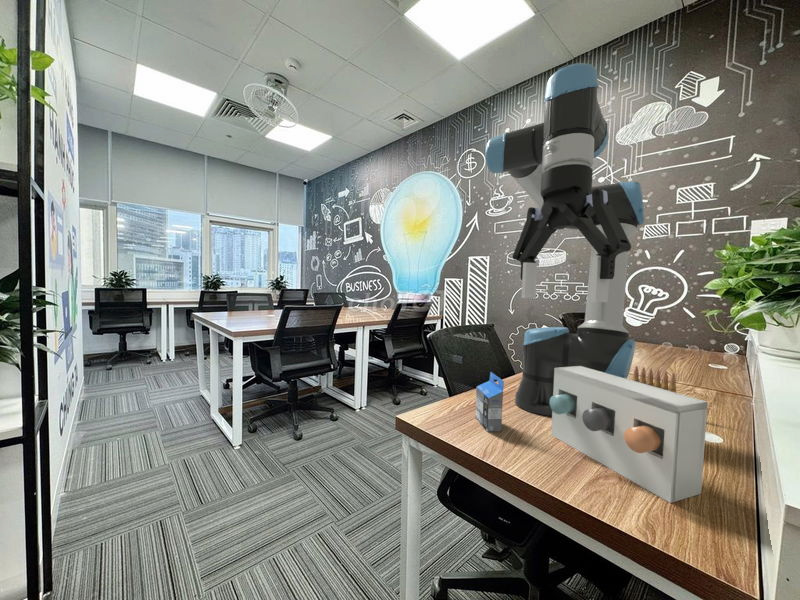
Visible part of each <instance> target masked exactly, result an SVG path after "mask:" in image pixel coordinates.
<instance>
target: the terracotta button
mask: <svg viewBox="0 0 800 600" xmlns="http://www.w3.org/2000/svg"><path fill="white" fill-rule="evenodd" d="M624 439H625V442H626V444H627V445H628V447H629V448H630V449H632V450H633V451H635V452H637V453H645V452H649V451H654V450H657V449H658V448H659V447H660V438H659V436H658V434H657V433H656V432H655V431H654V430H653V429H652V428H650V427H648V426H638V427H632V428H628V429H627V430H626V431H625V433H624Z"/></svg>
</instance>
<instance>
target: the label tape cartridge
mask: <svg viewBox="0 0 800 600" xmlns="http://www.w3.org/2000/svg"><path fill="white" fill-rule="evenodd" d="M504 383H505V380H503V379H501V377H499V376H497V374H495V373H493V372H492V371H490V373H489V380H488V381H486V382H483V383H481V384H479V385H477V386H476V389H475V390H476V391H475V392H476V393H475V394H476V395H475V414H474V415H475V416H474V417H475V418H476V420H477V421H478V422H479V423H480V425H481V426H482V427H483V428H484V429H485V430H486V432H488V433H499V432H502V422H503V419H502V418H503V399H504V398H503V397H504Z"/></svg>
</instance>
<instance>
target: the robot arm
mask: <svg viewBox="0 0 800 600" xmlns="http://www.w3.org/2000/svg"><path fill="white" fill-rule="evenodd" d="M598 88H599V84H598V70H597V68H596V67H595V66H594V65H592V64H590V63H585V62H578V63H572V64H569V65H567V66H564V67H562V68H559V69H558V70H557V71H555V72H554V73H553V74H552V75H550V77H549V78H548V80H547V82H546V87H545V93H544V99H543V105H544V108H543V109H544V111H543V113H544V114H543V122H540V123H537V124H533V125H531V126H526V127H524V128H519V129H517V130H514V131H508V132H504V133H502V134H500V135H497V136H494V137H492V138H490V139H489V140H488V142H487V143H486V145H485V154H484V156H485V157H484V159H485V163H486V166H487V169H488V170H489V172H491V173H492V174H504V173H506V172H507V173H508V174H509V175H510V176H511V178H513V180H515V182H517V184H518V185H519V186H520V187H521V188H522V189H523V191H524V192H525V193H526V194H527V195H528V196H529V197H530V198H531V200H533V202H534V203H535V204H536V205H537V207H532V206H531V207H528V209H527V213H526V220H525V223H524V226H523V227H522V231H521V233H520V236H519V238H518V241H517V244H516V246H515V249H514V251H513V254H512V259H513V260H515V261H518V262H520V280H522V282H521V298H522V299H536V296H537V295H536V294H537V279H538V278H537V275H538V263H537V262H536V258H537V257H538V256H539V254H540V252H541V251H542V249H543V248H544V247H545V245H546V243H548V241H549V239H550V238H551V236H552V235H553V234H554V233H556V232H557V230H564V229H569V230H577V231H578V230H579V232H580V233H581V234H582V235H583V236H584V238H585V239H586V240H587V242H588V243H589V244H590V245H591V252H590V263H589V272H588V281H587V282H588V284H587V294H586V304H585V314H584V322H582V324H580V325H578V326H577V330H576V331H577V332H576V333H570V330H569V328H568V327H562V326H554V327H553V326H552V327H550V326H547V327H535V328H529V329H527V330H526V331H525V332H524V337H523V338H524V340H523V349H522V355H523V357H522V376H521V380H520V383H519V386H518V389H517V391H516V392H515V398H514V403H515V405H516V406H517V407H519V408H520V409H522V410H524V411H527V412H530V413H533V414H537V415H541V416H549V417H550V416H551V417H552V409H551V407H550V398H551V397H552V396H553V389H554V368H559V367H572V366H583V367H586V368H590V369H593V370H597V371H600V372H604V373H607V374H611V375H614V376H618V377H622V378H625V379H628V377H629V374H630V371H631V367H632V363H633V359H634V354H635V348H636V341H635V340H634V339H632V338H629V337H630V336H629V335H630V332H629V331H628V330H627V329H626V328H625V327H624V325H623V323H624V310H625V299H626V298H625V297H626V284H627V273H628V272H627V271H628V263H629V262H628V261H629V260H628V259H629V251H630V250H631V249H632V244H631V242H630V238H631V237H632V236H634V235H635V234H637V232H638V226H641V225H644V224H645V222H646V220H645V214H644V213H645V211H644V202H643V192H642V185H641V184H640V182H638V181H635V180H632V181H625V182H624V181H623V182H622V181H619V182H617V183H609V184H603V185H597V186H593V172H594V170H593V168H592V166H593V165H594V161H595V159H596V158H597V157H599V156H600V155H601V153H603V152H604V150H605V149H606V147H607V145H608V143H609V137H610V136H609V131H608V123H607V121H606V120H605V118H604V115H603V113H602V110H601V106H600V104H599V102H598Z"/></svg>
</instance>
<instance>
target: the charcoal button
mask: <svg viewBox="0 0 800 600" xmlns="http://www.w3.org/2000/svg"><path fill="white" fill-rule="evenodd" d="M582 419H583V422H584V424H585V426H586V427H587V428H588V429H589V430H591V431H599V430H605V429H609V428H610V427H611V425H612V418H611V416H610V414H609V413H608V412H607V411H606V410H605V409H603V408H595V409H588V410H585V411H584V412H583V415H582Z"/></svg>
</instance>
